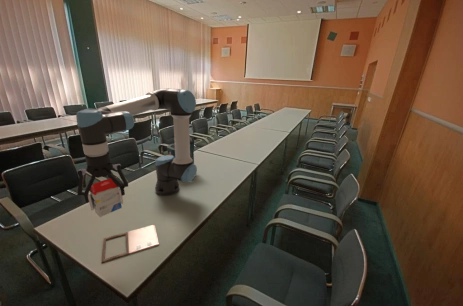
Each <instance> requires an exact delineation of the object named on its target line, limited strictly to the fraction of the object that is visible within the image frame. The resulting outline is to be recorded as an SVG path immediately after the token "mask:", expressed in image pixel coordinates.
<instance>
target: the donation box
mask: <svg viewBox="0 0 463 306" xmlns="http://www.w3.org/2000/svg"><path fill="white" fill-rule="evenodd" d="M189 136H190V135H189ZM166 151H167V155H172V156H174V158H175V142H174V143H171V144H168V146H166ZM194 152H195V138H194V137H193V136H190V157H191V158H192V159H193V164H195V156H194V155H195V153H194Z"/></svg>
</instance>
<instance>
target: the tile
mask: <svg viewBox="0 0 463 306" xmlns="http://www.w3.org/2000/svg"><path fill="white" fill-rule="evenodd" d="M127 232H128V242H129V255H131V254H135V253H139V252H140V251H144V250H148V249H150V248H154V247H157V246H160V243H159V239H158V235H157V230H156V226H155V224H152V225H147V226H145V227H141V228H137V229H133V230H129V231H127Z"/></svg>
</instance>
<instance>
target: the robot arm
mask: <svg viewBox="0 0 463 306" xmlns="http://www.w3.org/2000/svg"><path fill="white" fill-rule="evenodd" d="M196 106H197V100H196V97H195V94H194V93H193V92H192V91H190V90H188V89H183V88H181V89H180V88H166V87H165V88H161V89H157V90H153V91H150V92H149V91H148V92H147V93H146V94H145V95H142V96H139V97H135V98H131V99H127V100H124V101H121V102H117V103H114V104H113V103H112V104H109V105H106V106H102V107H101V106H100V107H97V108H85V109H81V110H78V111H77V112H76V114H75V117H76V124H77V127H78V131H79V135H80V140H81V144H82V150H83V153H84V155H85V156H84V158H85V162H86V167H85V168H79V169H78V171H77V176H78V186H77V196H83V197H84V200H85V203H87V204H89V207H90V211H95V209H94V205H93V201H92V197H91V193H90V188H91V187H92V186H93V184H94V183H95V182H94V181H95V179H96V178H97V179H98V178H105V177H108V179H110V178H111V179H112V181H113V182H114V183H115V184H116V185H117V186H118V190H119V196H120V202H121V205H123V204H124V199H123V196H125V194H126V193H125V192H126V191H125V188H127V187H129V182H128V179H127V178H126V176H125V174H124V172H123V169H122V165H121V163H119V162H118V163H117V164H113V163H112V161H111V156H110V152H109V144H108V140H107V136H110V135H112V134H116V133H121V132H126V131H129V130H131V129H133V127H134V126H135V119H134V116H137V115H140V114H143V113H145V112H148V111H157V110H167V111H169V113H170V114H169V115H170V116H171V117H172V118H173V136H174V137H173V139H174V143H175V158H174V156H172V155H168V154H166V155H162V156H159V157H157V158H156V159H155V171H156V172H155V173H156V184H155V187H154V188H155V189H154V191H155V193H156V194H157V195H158V196H159V195H161V196H170V195H174V194H176V193H178V192H179V190H180V184H179V182H178V181H181V182H183V183H190V182H192V181H193V180H194V178H195V177H196V174H197V171H198V167H197V165H196V164H195V163H194V164H193V159H192V158H191V157H190V118H191V116H193V115H192V114H193V112H195V111H196ZM113 169H114V170H116V171H117V173H118V175H119V178H120V179H121V181H120V179H118V177H117V176H116V174H114V173H113V172H112V170H113ZM86 173H88V174H90V175H91V176H90V178H89V181H88V183H87V185H86V187H85V190H83V189H84V179H85V175H86ZM115 177H116V178H115Z"/></svg>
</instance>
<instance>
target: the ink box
mask: <svg viewBox="0 0 463 306" xmlns="http://www.w3.org/2000/svg"><path fill="white" fill-rule="evenodd" d="M116 177H117V176H116ZM116 177H115V178H116ZM89 192H90V193H91V197H92V201H93V205H94V212H95V214H97V216H99V218H102V217H104V216H107V215H108V214H111V213H113V212H115V211H118V210H120V209H122V208H123V207H122V204H121V202H120V196H119V190H118V186H117V185H116V184H115V183H114V182H113V181H112V179H111V178H106V179H104V180H100V181H98V182H93V184H92V186H91V188H90V191H89Z"/></svg>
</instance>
